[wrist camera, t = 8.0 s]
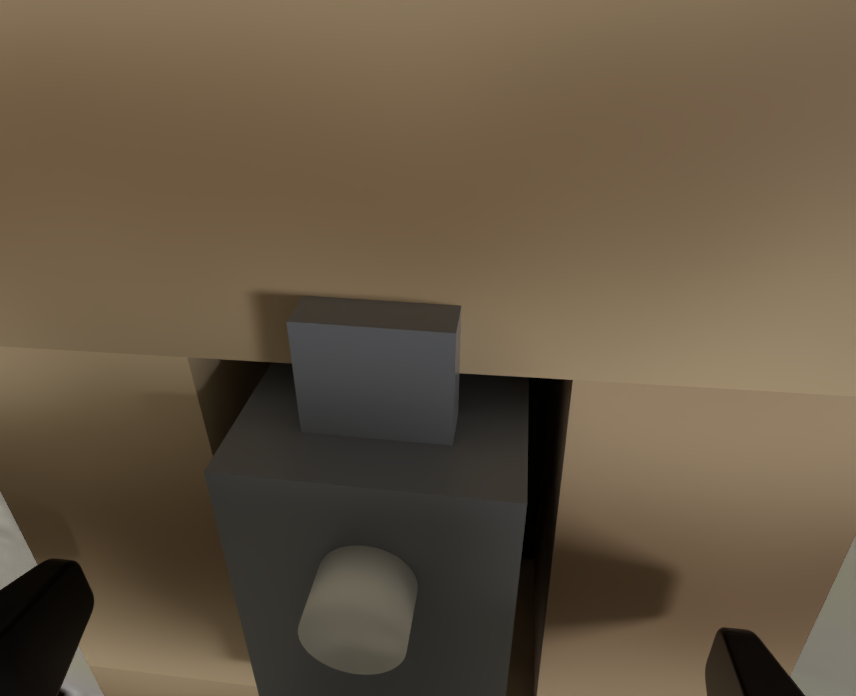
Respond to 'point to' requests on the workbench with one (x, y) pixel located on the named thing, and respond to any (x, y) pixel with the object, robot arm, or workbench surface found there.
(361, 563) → the servo
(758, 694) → the robot arm
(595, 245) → the tan flat block
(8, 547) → the workbench surface
